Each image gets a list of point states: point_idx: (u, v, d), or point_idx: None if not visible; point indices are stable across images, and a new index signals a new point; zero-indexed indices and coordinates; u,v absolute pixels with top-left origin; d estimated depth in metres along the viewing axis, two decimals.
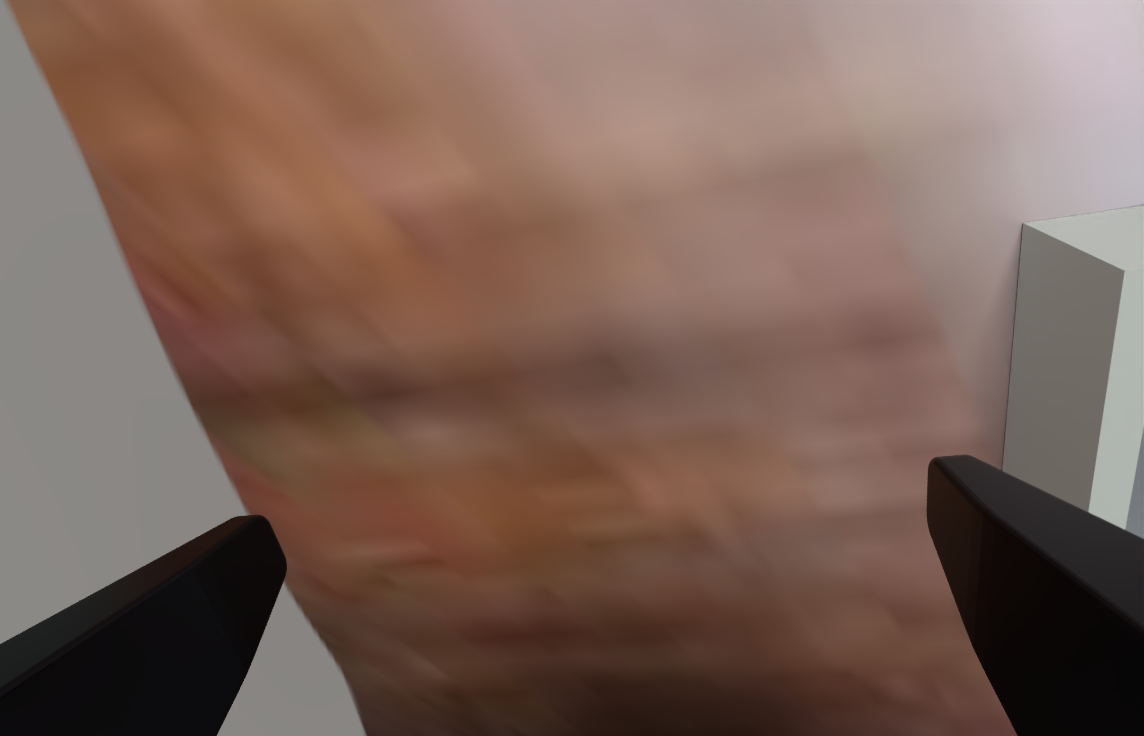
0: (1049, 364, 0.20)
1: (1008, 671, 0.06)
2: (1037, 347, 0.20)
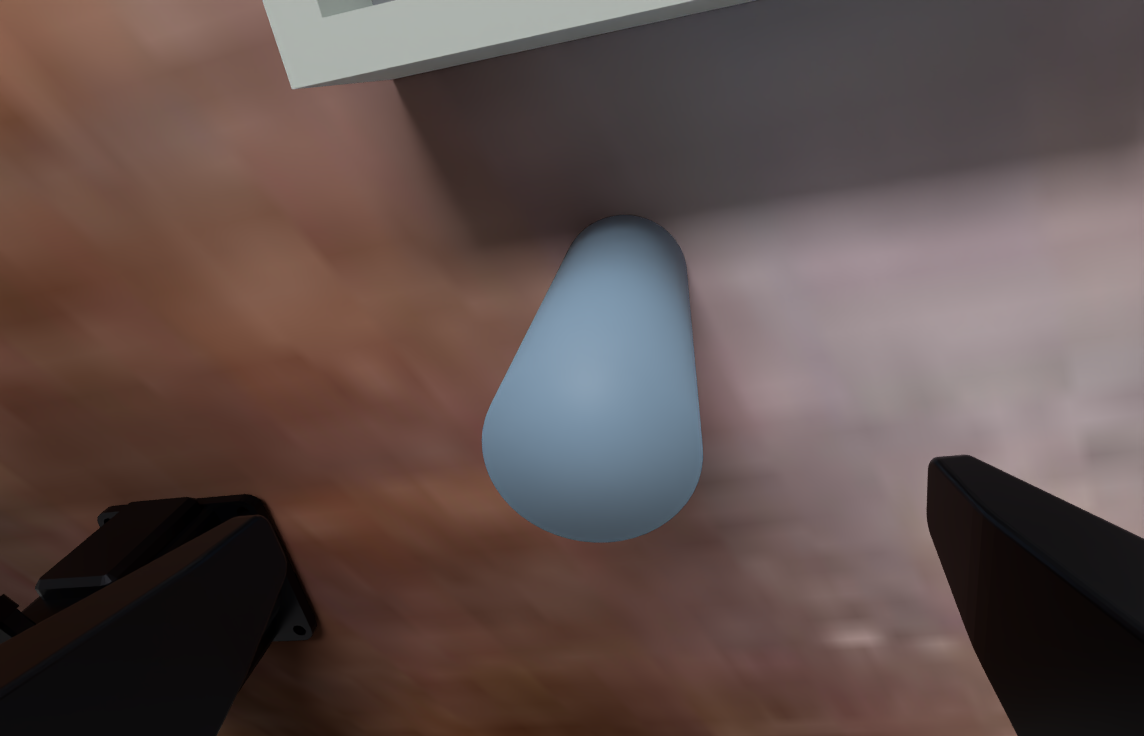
0: None
1: (1008, 671, 0.06)
2: None
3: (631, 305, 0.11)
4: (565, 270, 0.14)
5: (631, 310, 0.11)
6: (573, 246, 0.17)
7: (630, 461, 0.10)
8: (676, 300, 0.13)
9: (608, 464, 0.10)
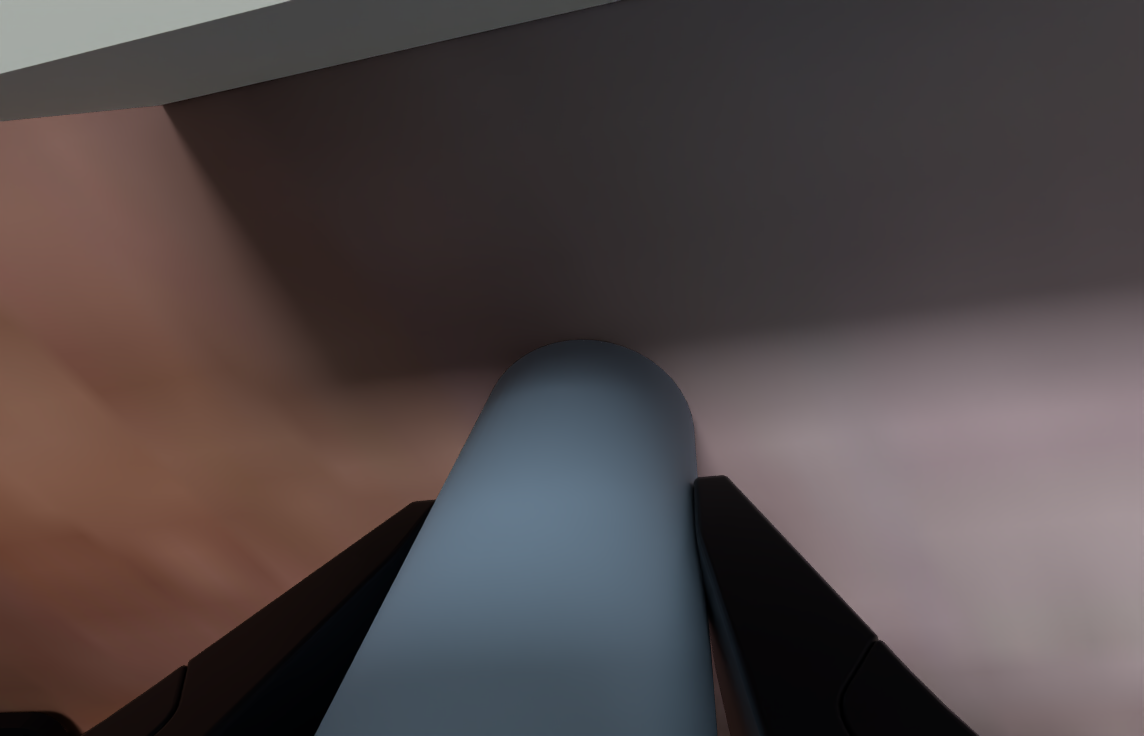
0: None
1: (720, 679, 0.07)
2: None
3: None
4: (444, 512, 0.07)
5: None
6: (488, 408, 0.09)
7: None
8: (677, 632, 0.06)
9: None
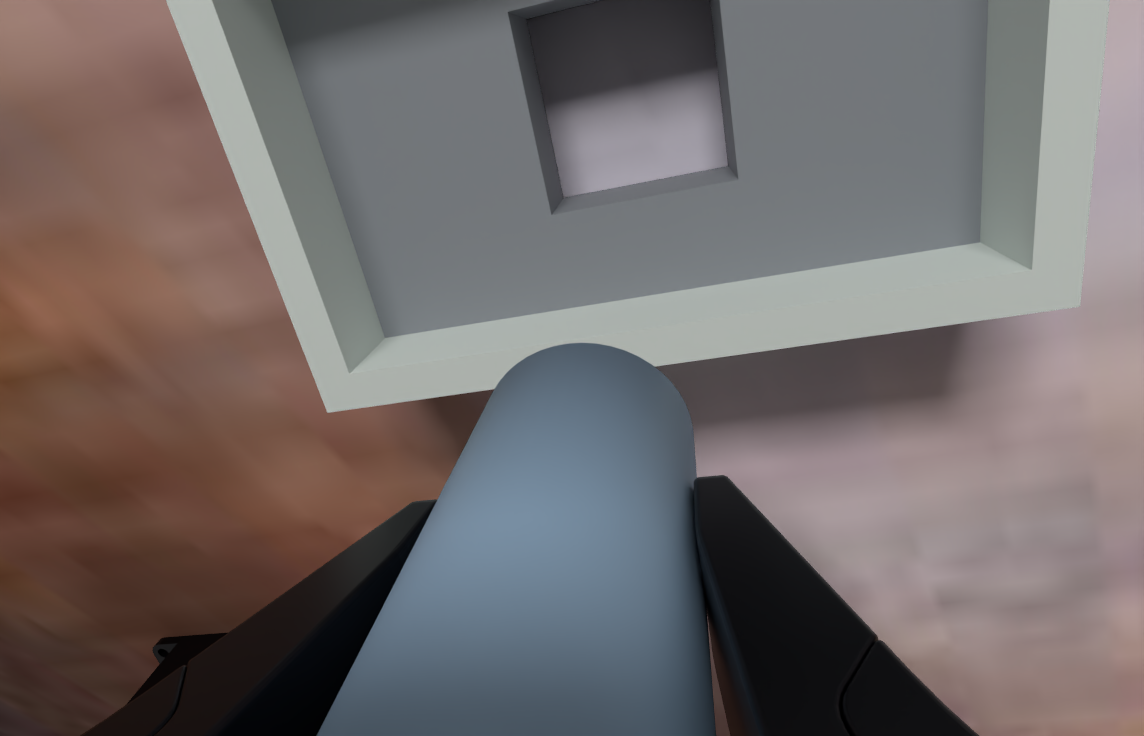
0: None
1: (720, 679, 0.07)
2: None
3: None
4: (443, 516, 0.07)
5: None
6: (488, 411, 0.09)
7: None
8: (676, 637, 0.06)
9: None
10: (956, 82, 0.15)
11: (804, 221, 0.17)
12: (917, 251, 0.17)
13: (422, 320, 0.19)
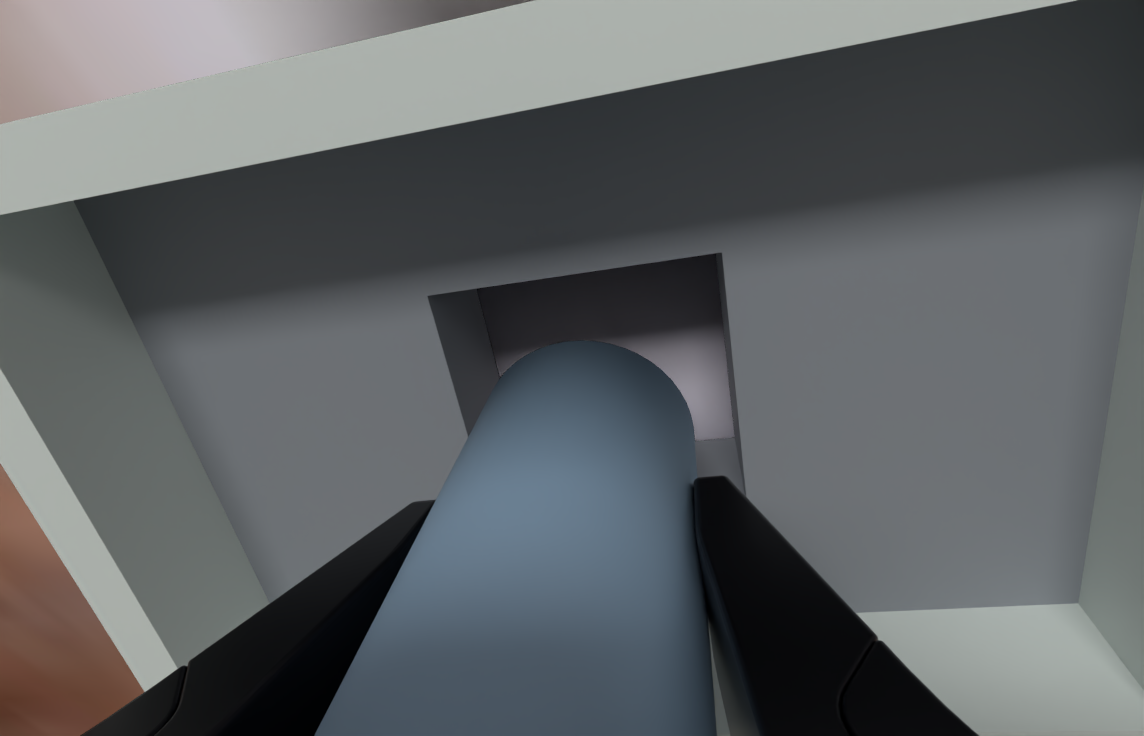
0: None
1: (720, 679, 0.07)
2: None
3: None
4: (443, 514, 0.07)
5: None
6: (488, 409, 0.09)
7: None
8: (677, 635, 0.06)
9: None
10: (1063, 422, 0.11)
11: (836, 562, 0.12)
12: (990, 605, 0.12)
13: None
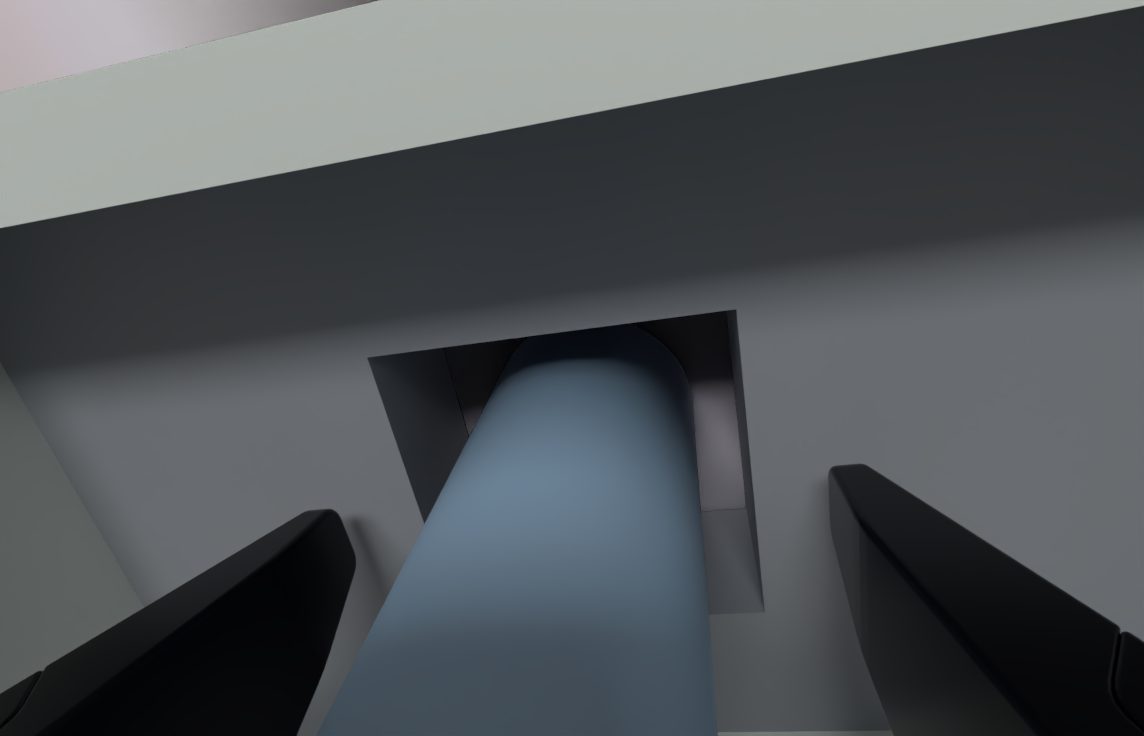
0: None
1: (884, 674, 0.07)
2: None
3: (567, 663, 0.05)
4: (469, 461, 0.08)
5: (567, 688, 0.05)
6: (504, 377, 0.10)
7: None
8: (676, 555, 0.07)
9: None
10: None
11: None
12: None
13: None
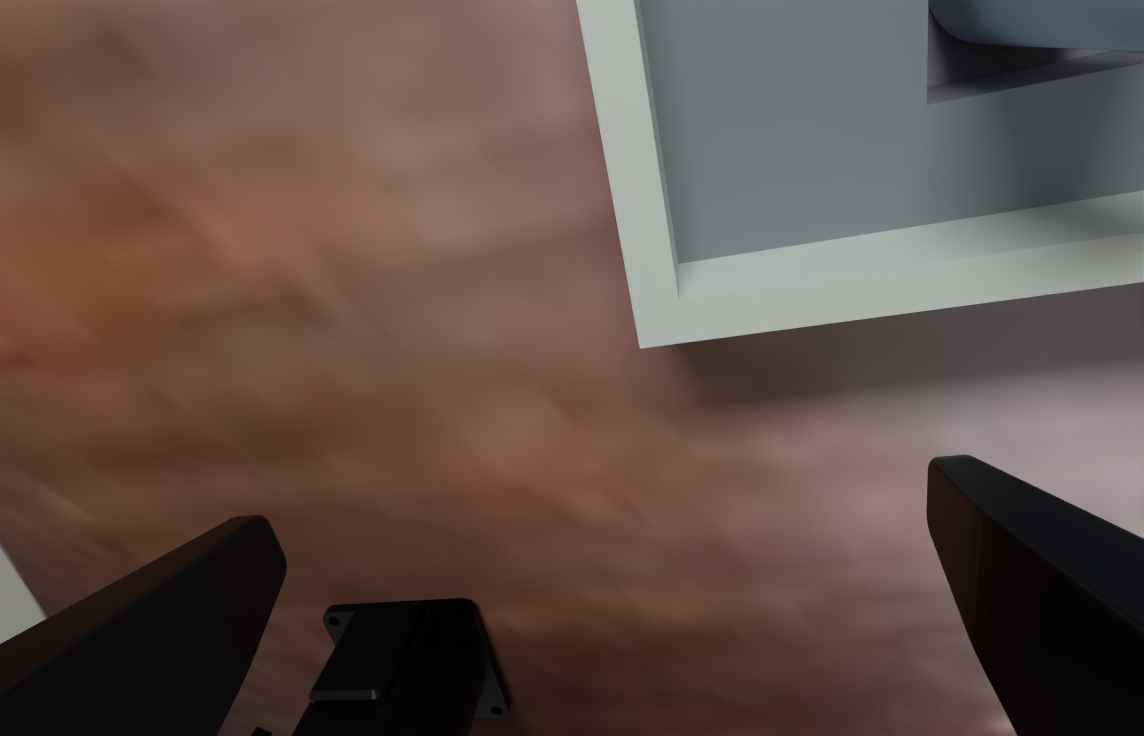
0: None
1: (1008, 671, 0.06)
2: None
3: None
4: None
5: None
6: None
7: None
8: None
9: None
10: None
11: None
12: None
13: (730, 242, 0.16)
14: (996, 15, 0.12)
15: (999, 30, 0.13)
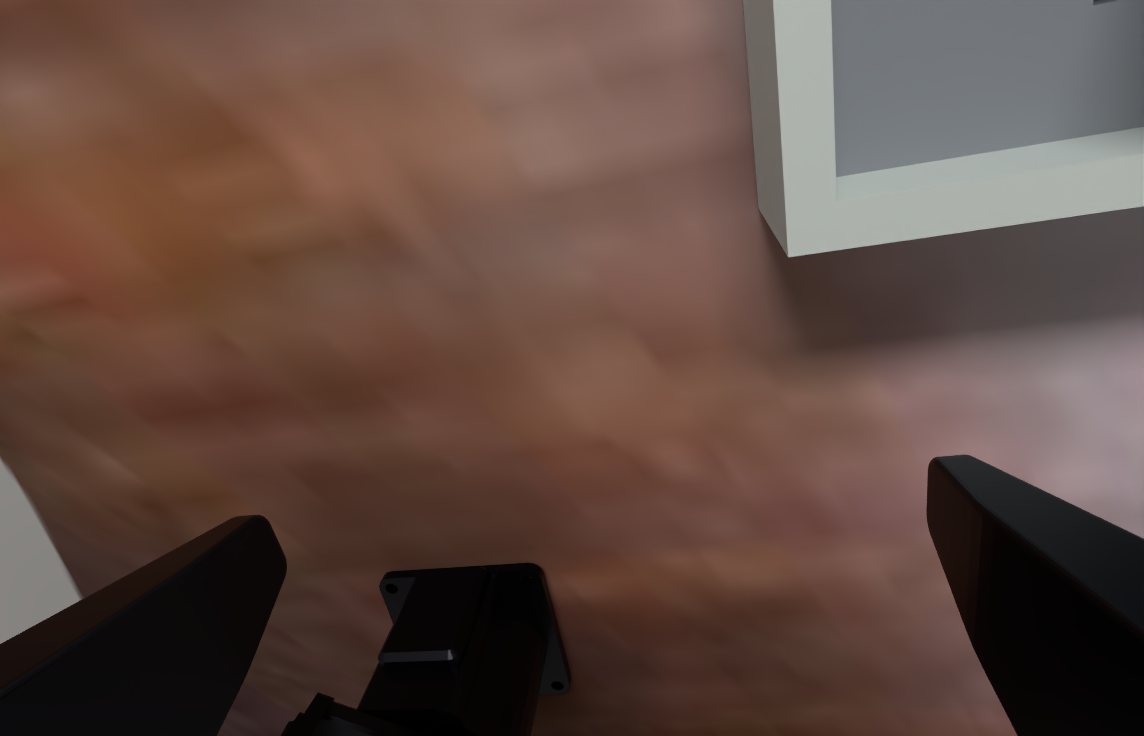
0: None
1: (1008, 671, 0.06)
2: None
3: None
4: None
5: None
6: None
7: None
8: None
9: None
10: None
11: None
12: None
13: (869, 156, 0.15)
14: None
15: None
